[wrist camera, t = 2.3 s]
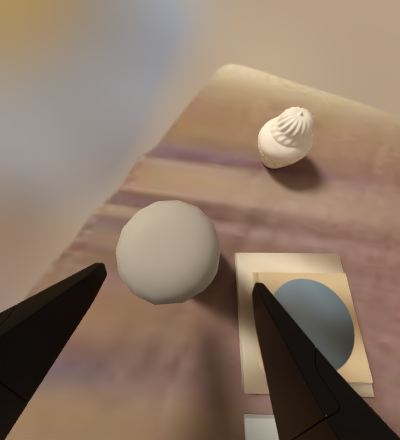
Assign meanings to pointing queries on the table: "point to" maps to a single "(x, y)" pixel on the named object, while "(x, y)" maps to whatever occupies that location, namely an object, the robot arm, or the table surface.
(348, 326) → the foundation
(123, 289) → the table surface
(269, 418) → the pale grey rectangular tile
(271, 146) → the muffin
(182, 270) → the beige mushroom knob
